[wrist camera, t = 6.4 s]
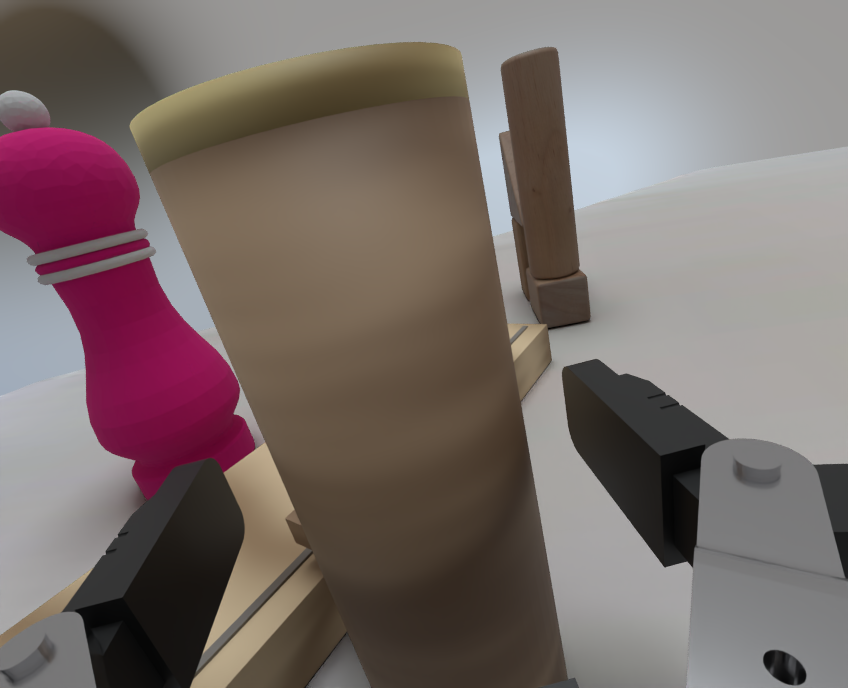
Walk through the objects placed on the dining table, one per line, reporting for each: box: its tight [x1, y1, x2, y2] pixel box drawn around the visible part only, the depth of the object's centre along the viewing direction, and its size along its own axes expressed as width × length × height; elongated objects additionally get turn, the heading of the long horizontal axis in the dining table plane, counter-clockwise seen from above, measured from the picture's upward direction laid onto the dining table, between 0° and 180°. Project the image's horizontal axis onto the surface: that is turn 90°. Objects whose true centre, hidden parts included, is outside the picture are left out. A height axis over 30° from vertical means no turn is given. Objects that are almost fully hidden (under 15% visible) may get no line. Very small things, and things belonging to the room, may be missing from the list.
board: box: [0, 324, 552, 688], centre depth 22 cm, size 26×9×3 cm, turn 146°
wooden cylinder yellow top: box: [130, 42, 568, 688], centre depth 11 cm, size 5×8×15 cm, turn 56°
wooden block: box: [499, 47, 591, 328], centre depth 35 cm, size 4×11×18 cm, turn 177°
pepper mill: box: [0, 90, 255, 500], centre depth 23 cm, size 7×7×20 cm
